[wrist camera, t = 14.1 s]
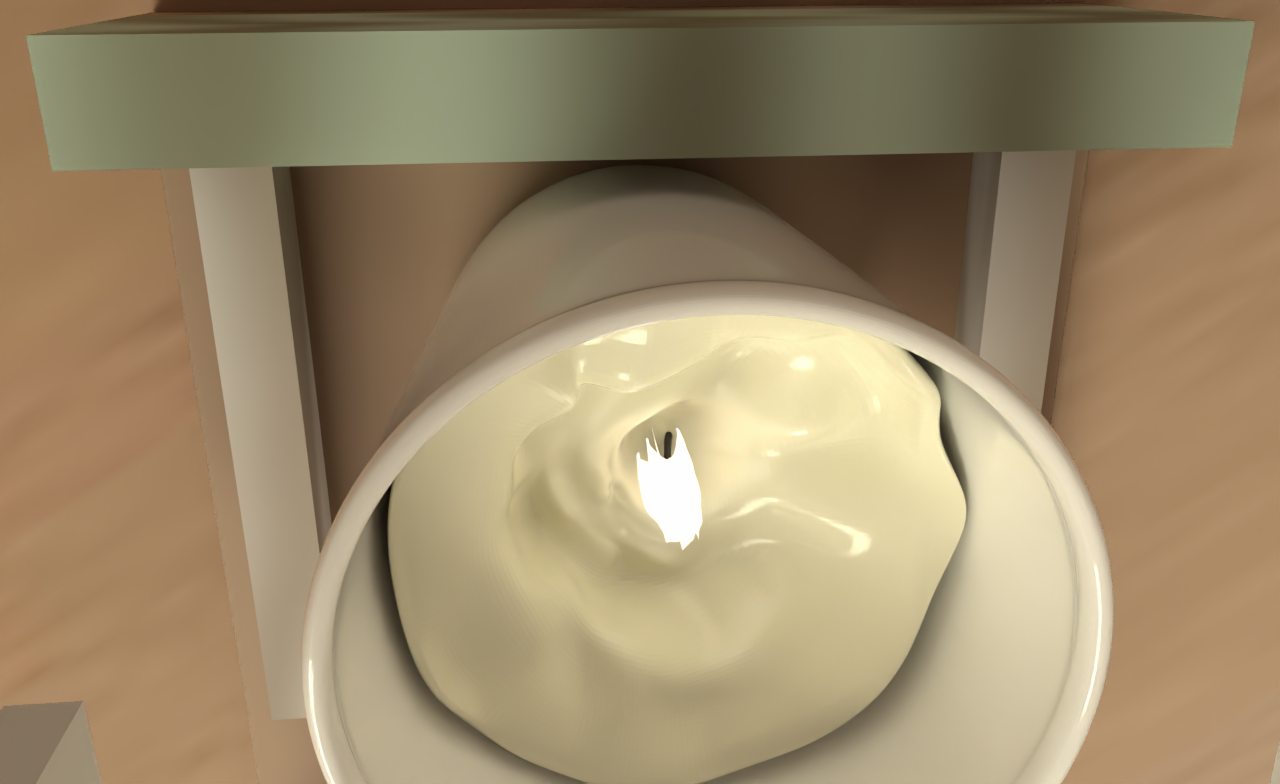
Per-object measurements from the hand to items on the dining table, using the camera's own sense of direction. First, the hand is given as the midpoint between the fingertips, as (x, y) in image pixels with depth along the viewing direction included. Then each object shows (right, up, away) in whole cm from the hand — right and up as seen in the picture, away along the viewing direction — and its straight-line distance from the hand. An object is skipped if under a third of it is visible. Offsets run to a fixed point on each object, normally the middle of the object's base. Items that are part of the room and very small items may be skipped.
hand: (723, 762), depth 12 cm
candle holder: (-1, +5, +13) cm, 14 cm away
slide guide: (-1, 0, +15) cm, 15 cm away
